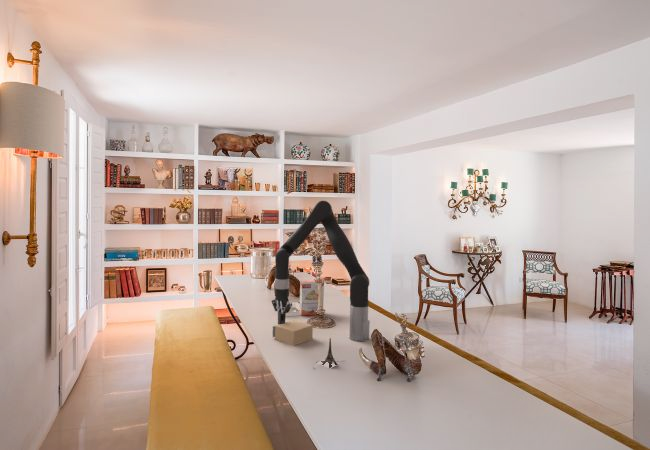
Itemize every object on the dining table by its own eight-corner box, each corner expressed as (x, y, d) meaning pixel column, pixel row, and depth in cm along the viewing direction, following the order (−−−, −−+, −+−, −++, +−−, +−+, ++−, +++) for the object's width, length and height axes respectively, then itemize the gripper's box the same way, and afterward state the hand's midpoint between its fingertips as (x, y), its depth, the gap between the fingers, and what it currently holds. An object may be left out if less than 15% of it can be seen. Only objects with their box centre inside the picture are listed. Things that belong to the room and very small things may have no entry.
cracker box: (301, 316, 258) (301, 282, 257) (299, 313, 264) (299, 280, 263) (323, 315, 262) (324, 281, 261) (321, 312, 268) (321, 279, 267)
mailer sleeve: (312, 338, 217) (312, 325, 216) (293, 345, 206) (293, 331, 206) (294, 333, 225) (294, 320, 225) (274, 339, 214) (275, 325, 214)
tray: (308, 336, 218) (308, 314, 217) (290, 342, 208) (290, 319, 207) (289, 330, 227) (289, 309, 226) (271, 336, 216) (271, 314, 216)
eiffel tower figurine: (345, 361, 189) (346, 331, 188) (348, 370, 179) (349, 339, 178) (311, 361, 188) (312, 331, 187) (313, 370, 177) (313, 339, 177)
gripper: (296, 288, 218) (296, 321, 219) (277, 284, 227) (277, 316, 228) (286, 290, 212) (285, 324, 213) (267, 286, 221) (267, 319, 222)
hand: (281, 320), depth 221 cm, fingers closed
